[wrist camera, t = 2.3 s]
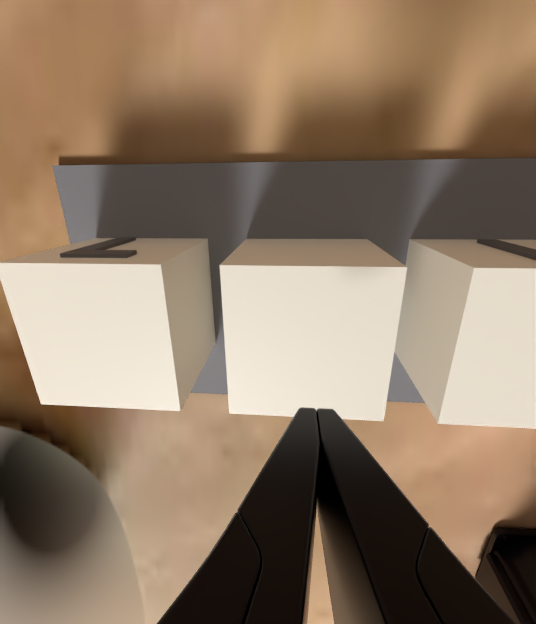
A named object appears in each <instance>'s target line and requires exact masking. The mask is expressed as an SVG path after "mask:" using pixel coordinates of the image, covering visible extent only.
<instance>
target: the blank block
mask: <svg viewBox="0 0 536 624" xmlns="http://www.w3.org/2000/svg"><path fill="white" fill-rule="evenodd" d="M406 273H407V267H406V266H405V265H404V264H402V263H401V262H399V261H398V260H396V259H395V258H394V257H392V256H391V255H389V254H388V253H387V252H385V251H384V250H382V249H381V248H379V247H378V246H377V245H375V244H374V243H372V242H371V241H369V240H368V239H246V240H245V241H244V242H243V243H242V244H240V245H239V246H238V247H237V248H236V249H235V250H234V251H233V252H232V253H231V254H230V255H229V256H228V257H227V258H226V259H225V260H224V261H223V262H222V263H221V264H220V280H221V295H222V310H223V326H224V341H225V356H226V372H227V387H228V402H229V413H231V414H251V415H271V416H291V417H294V416H295V414H296V412H297V411H298V409H299V408H301V407H306V408H315V409H316V411H317V409H318V408H327V409H333V410H335V411H336V413H337V414H338V415H339V416H340V417H341V419H352V420H372V421H384V415H385V409H386V402H387V396H388V389H389V383H390V376H391V370H392V363H393V357H394V350H395V344H396V337H397V331H398V324H399V318H400V312H401V305H402V299H403V292H404V286H405V279H406Z"/></svg>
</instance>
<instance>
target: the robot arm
mask: <svg viewBox="0 0 536 624" xmlns="http://www.w3.org/2000/svg"><path fill="white" fill-rule="evenodd" d="M316 507H317V508H318V516H319V523H320V530H321V537H322V544H323V550H324V557H325V564H326V570H327V577H328V584H329V591H330V597H331V604H332V611H333V617H334V624H536V530H527V529H514V528H497V529H495V530H494V531H493V532H492V535H491V538H490V541H489V543H488V546H487V549H486V551H485V554H484V557H483V560H482V562H481V565H480V568H479V570H478V573H477V576H476V578H474V577H473V576H472V575H471V573H470V572H469V571H468V570H467V569H466V568H465V566H464V565H463V564H462V563H461V562H460V561H459V559H458V558H457V557H456V556H455V555H454V554H453V553H452V551H451V550H450V549H449V548H448V547H447V546H446V544H445V543H444V542H443V541H442V539H441V538H440V537H439V536H438V535H437V533H436V532H435V531H434V530H433V529H432V528H431V527H429V525H428V523H427V522H426V520H425V519H424V518H423V517H422V515H421V514H420V513H419V512H418V511H417V509H416V508H415V507H414V506H413V505H412V503H411V502H410V501H409V500H408V499H407V497H406V496H405V495H404V494H403V492H402V491H401V490H400V489H399V488H398V486H397V485H396V484H395V483H394V482H393V480H392V479H391V478H390V477H389V476H388V474H387V473H386V472H385V471H384V469H383V468H382V467H381V466H380V465H379V463H378V462H377V461H376V460H375V459H374V457H373V456H372V455H371V454H370V453H369V451H368V450H367V449H366V448H365V446H364V445H363V444H362V443H361V442H360V440H359V439H358V438H357V437H356V436H355V434H354V433H353V432H352V431H351V429H350V428H349V427H348V426H347V425H346V423H345V422H344V421H343V420H342V419H341V417H340V416H339V415H338V414H337V413H336V411H335V410H333V409H327V408H318V409H317V411H316V409H315V408H306V407H301V408H299V409H298V411H297V412H296V414H295V416H294V417H293V419H292V421H291V422H290V424H289V425H288V427H287V429H286V430H285V432H284V434H283V435H282V437H281V439H280V440H279V442H278V444H277V445H276V447H275V449H274V450H273V452H272V454H271V455H270V457H269V459H268V460H267V462H266V464H265V465H264V467H263V468H262V470H261V472H260V473H259V475H258V477H257V478H256V480H255V482H254V483H253V485H252V487H251V488H250V490H249V492H248V493H247V495H246V497H245V498H244V500H243V502H242V503H241V505H240V507H239V508H238V513H235V514H234V516H233V518H232V519H231V521H230V523H229V524H228V526H227V528H226V529H225V531H224V532H223V534H222V536H221V537H220V539H219V540H218V542H217V543H216V545H215V546H214V548H213V549H212V551H211V552H210V554H209V556H208V557H207V558H206V560H205V561H204V562H203V564H202V565H201V566H200V568H199V569H198V571H197V572H196V573H195V575H194V576H193V577H192V579H191V580H190V581H189V583H188V584H187V585H186V587H185V588H184V589H183V591H182V592H181V593H180V595H179V596H178V597H177V598H176V600H175V601H174V602H173V604H172V605H171V606H170V607H169V609H168V610H167V611H166V613H165V614H164V615H163V617H162V618H161V619H160V620H159V622H158V623H157V624H307V618H308V606H309V594H310V582H311V570H312V558H313V545H314V533H315V521H316ZM428 527H429V528H428Z"/></svg>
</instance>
